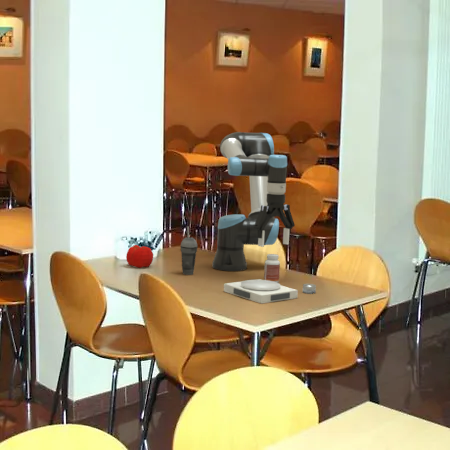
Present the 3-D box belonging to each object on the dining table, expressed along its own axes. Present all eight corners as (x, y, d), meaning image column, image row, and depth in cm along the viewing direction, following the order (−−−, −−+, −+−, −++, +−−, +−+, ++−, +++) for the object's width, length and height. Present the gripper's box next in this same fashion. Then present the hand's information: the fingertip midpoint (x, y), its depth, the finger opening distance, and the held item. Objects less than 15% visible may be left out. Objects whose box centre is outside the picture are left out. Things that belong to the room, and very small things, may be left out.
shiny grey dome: (299, 291, 321) (300, 284, 321) (309, 290, 324) (309, 283, 324) (308, 294, 317) (309, 287, 317) (318, 293, 320) (318, 285, 320)
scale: (222, 291, 315) (223, 280, 315) (259, 286, 327) (259, 276, 326) (261, 303, 298) (261, 292, 297) (298, 298, 310) (298, 287, 309)
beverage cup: (186, 276, 340) (188, 228, 338) (175, 273, 346) (177, 226, 343) (200, 274, 345) (202, 227, 342) (189, 271, 351) (191, 224, 348)
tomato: (157, 267, 355) (158, 247, 354) (132, 270, 349) (133, 249, 347) (145, 263, 364) (146, 243, 363) (121, 265, 357) (121, 244, 356)
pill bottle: (282, 282, 337) (283, 255, 335) (270, 283, 333) (271, 256, 332) (273, 279, 342) (274, 253, 340) (261, 280, 338) (262, 254, 337)
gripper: (258, 195, 322) (256, 248, 324) (304, 193, 337) (302, 244, 340) (246, 193, 327) (244, 245, 330) (292, 191, 343) (289, 241, 346)
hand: (273, 245), depth 335 cm, fingers open, 13 cm apart
